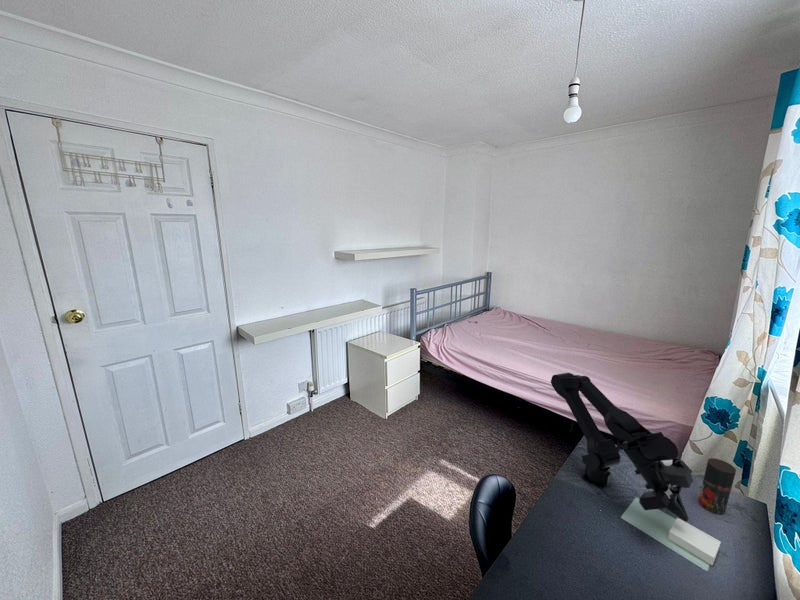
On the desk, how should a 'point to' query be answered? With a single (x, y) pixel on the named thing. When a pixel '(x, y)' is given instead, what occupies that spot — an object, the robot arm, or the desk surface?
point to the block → (694, 541)
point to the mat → (658, 528)
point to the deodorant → (716, 486)
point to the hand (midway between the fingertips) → (686, 520)
